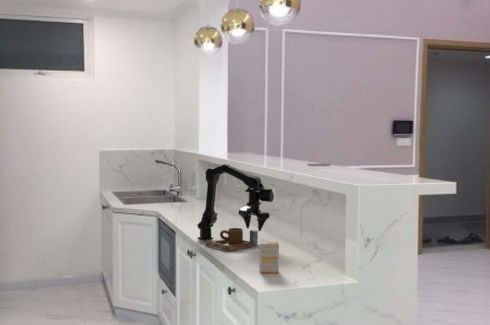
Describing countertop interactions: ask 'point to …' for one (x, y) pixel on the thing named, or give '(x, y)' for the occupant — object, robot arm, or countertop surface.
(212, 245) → the brown frame with handle
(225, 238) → the mug
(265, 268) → the supplement box
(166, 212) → the countertop surface
